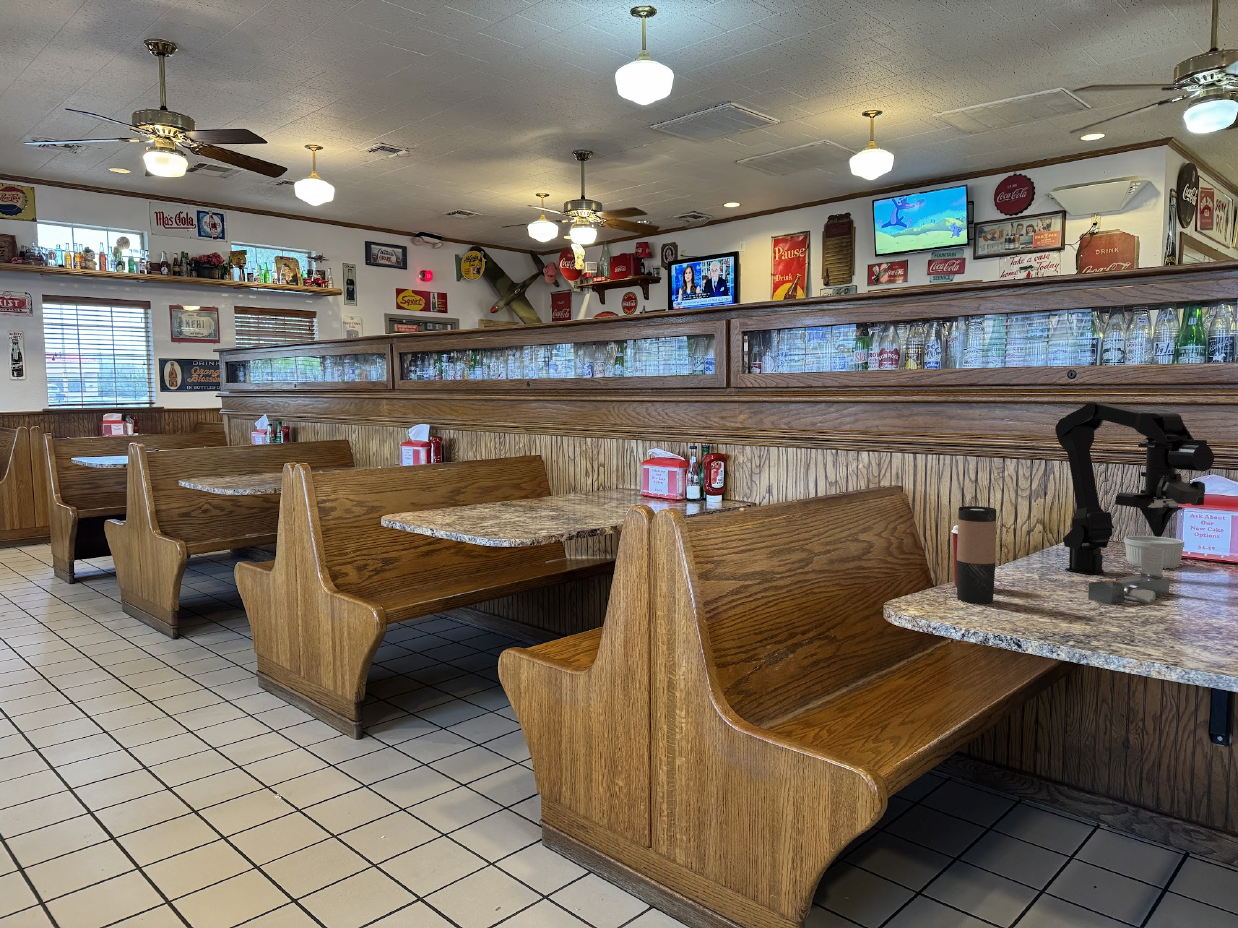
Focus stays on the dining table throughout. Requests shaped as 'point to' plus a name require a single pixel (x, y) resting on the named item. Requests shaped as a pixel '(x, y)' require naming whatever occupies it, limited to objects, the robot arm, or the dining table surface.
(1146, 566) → the keeper flap
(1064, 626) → the dining table surface
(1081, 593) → the dining table surface
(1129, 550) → the ramekin
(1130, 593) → the pin
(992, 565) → the travel mug
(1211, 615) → the dining table surface
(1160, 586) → the hitch bar
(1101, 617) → the dining table surface
